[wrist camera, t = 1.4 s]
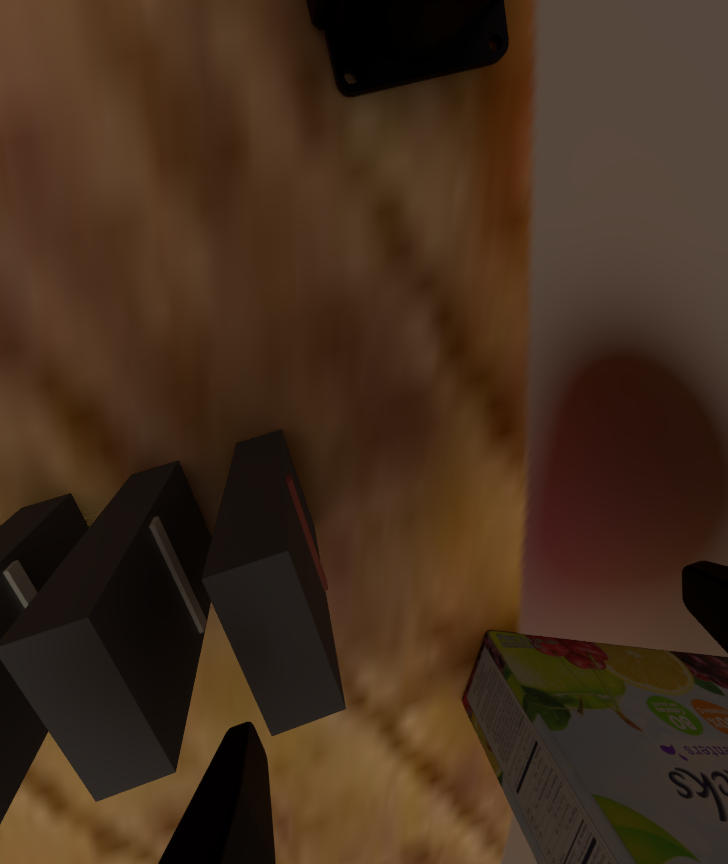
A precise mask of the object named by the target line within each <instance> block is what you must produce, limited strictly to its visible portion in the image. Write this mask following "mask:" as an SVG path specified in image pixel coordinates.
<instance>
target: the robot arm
mask: <svg viewBox="0 0 728 864" xmlns="http://www.w3.org/2000/svg"><path fill="white" fill-rule="evenodd" d="M307 4H308V8H309V13H310V17H311V21H312V24H313V25H314V26H315V27H316V28H317V29H318V30H324V33H325V37H326V42H327V46H328V50H329V55H330V59H331V63H332V68H333V72H334V76H335V80H336V84H337V87H338V89H339V90H340V92H341V93H342V94H344V95H346V96H348V97H353V96H358V95H362V94H366V93H371V92H375V91H379V90H383V89H388V88H392V87H396V86H401V85H405V84H409V83H413V82H418V81H422V80H426V79H431V78H435V77H439V76H443V75H448V74H452V73H456V72H461V71H465V70H469V69H473V68H478V67H482V66H486V65H491V64H494V63H496V62H498V61H499V60H500V59H501V58H502V57H503V55H504V54H505V53H506V51H507V48H508V41H509V39H508V31H507V23H506V15H505V7H504V0H307ZM489 40H494V41H495V42H496V44H497V51H493V50H492V49H491V48H490V45H489ZM347 72H351V73H353V74H354V75H355V77H356V83H354V84H349V83H348V82H347V81H346V80H345V78H344V74H345V73H347ZM682 597H683V602H684V604H685V606H686V607H687V609H688V610H689V612H690V613H691V614H692V615H693V616H694V617H695V618H696V619H697V621H698V622H699V623H700V624H701V625H702V626H703V627H704V628H705V629H706V630H707V631H708V632H709V634H710V635H711V636H712V637H713V638H714V639H715V640H716V641H717V642H718V643H719V644H720V645H721V647H722V648H723V649H724V650H725V651H726V652H727V653H728V566H724V565H720V564H716V563H712V562H709V561H698V562H695V563H692V564H689V565H687V566H685V567H684V568H683V570H682ZM158 864H275V848H274V835H273V822H272V809H271V797H270V784H269V771H268V762H267V756H266V753H265V750H264V748H263V745H262V743H261V741H260V738H259V736H258V734H257V732H256V729H255V727H254V725H253V724H252V723H251V722H245V723H242V724H239V725H237V726H234V727H231V728H230V729H229V730H228V731H227V732H226V734H225V736H224V738H223V740H222V742H221V744H220V746H219V748H218V749H217V751H216V753H215V755H214V757H213V759H212V761H211V763H210V765H209V767H208V769H207V771H206V773H205V774H204V776H203V778H202V780H201V782H200V784H199V786H198V788H197V790H196V792H195V794H194V796H193V798H192V799H191V801H190V803H189V805H188V807H187V809H186V811H185V813H184V815H183V817H182V819H181V821H180V823H179V824H178V826H177V828H176V830H175V832H174V834H173V836H172V838H171V840H170V842H169V844H168V846H167V848H166V849H165V851H164V853H163V855H162V857H161V859H160V861H159V863H158Z"/></svg>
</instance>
